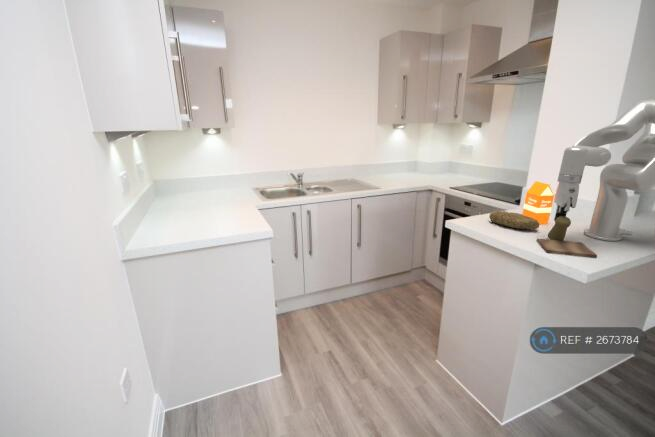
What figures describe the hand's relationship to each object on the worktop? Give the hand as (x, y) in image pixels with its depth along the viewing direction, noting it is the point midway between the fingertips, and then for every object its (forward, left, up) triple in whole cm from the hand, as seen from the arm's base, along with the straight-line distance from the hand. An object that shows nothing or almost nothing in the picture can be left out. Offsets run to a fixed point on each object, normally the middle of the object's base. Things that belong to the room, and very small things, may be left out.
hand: (559, 221), depth 129 cm
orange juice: (+1, -27, -9) cm, 28 cm away
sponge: (+13, -15, -9) cm, 21 cm away
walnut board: (0, +10, -8) cm, 13 cm away
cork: (0, 0, -7) cm, 7 cm away
